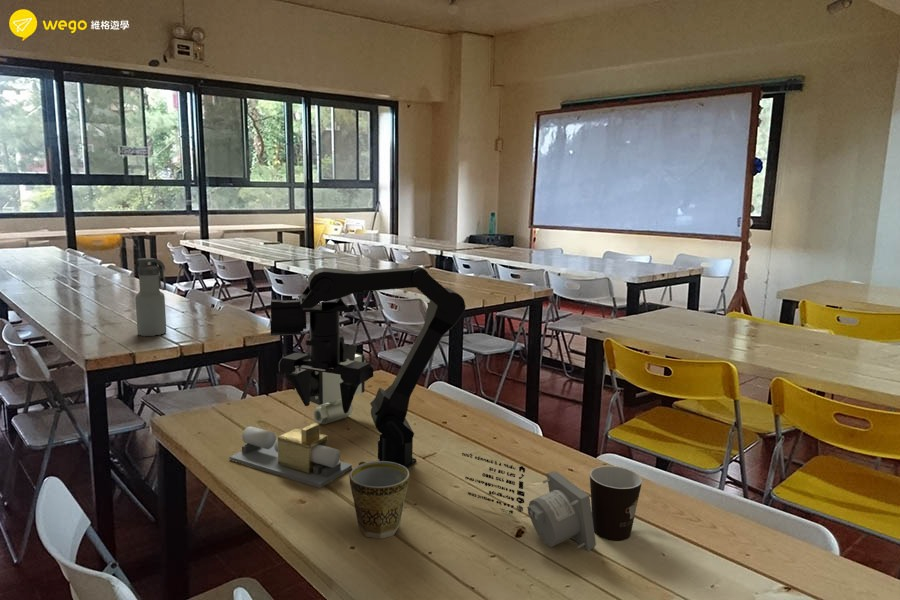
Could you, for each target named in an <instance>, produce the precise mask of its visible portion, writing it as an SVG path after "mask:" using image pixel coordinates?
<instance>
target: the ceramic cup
mask: <svg viewBox="0 0 900 600" xmlns="http://www.w3.org/2000/svg"><path fill="white" fill-rule="evenodd" d="M350 470H351V471H349V483H350V490H351V496H352V499H353V504H354V510H355V515H356V522H357V526H358V529H359V530H360V532H361V533H362V534H363V535H364V536H365V537H367V538H373V539H381V540H382V539H385V538H389V537H392V536H394V535H395V534H396V532H397V531H398V529H399V527H400V524H401V519H402V515H403V514H402V513H403V507H404V505H405V504H404V503H405V499H406V494H407V491H408V487H409V482H410V481H409V480H410V472H409V470H408V468H405V467H404V466H402V465H400V464H397V463H394V462H388V461H379V460H377V461H375V460H374V461H369V462H365V461H360V462H358V465H357V466H355V467H354V468H352V469H350Z"/></svg>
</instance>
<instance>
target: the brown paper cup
mask: <svg viewBox="0 0 900 600" xmlns="http://www.w3.org/2000/svg"><path fill="white" fill-rule="evenodd" d="M589 484H590V485H589V487H590V504H591V512H592V519H593V526H594V533H595V536H598V537H599V538H600V539H603V540H607V541H611V542H622V541H626V540H628V539H629V538H630V537H631V534H632V531H633V530H632V529H633V525H634V521H635V515H636V511H637V506H638V502H639V497H640V494H641V488H642V484H643V478H642V476H640V475H639V473H637V472H636V471H634V470H632V469H628V468H626V467H622V466H618V465H616V466H615V465H602V466H601V465H600V466H597V467H594V468H592V469H591V470H590V472H589Z"/></svg>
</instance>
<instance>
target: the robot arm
mask: <svg viewBox="0 0 900 600" xmlns="http://www.w3.org/2000/svg"><path fill="white" fill-rule="evenodd" d="M411 288H416V289H417V290H418V291H419V292H420V293H421V294H422V295H423V296H425V297H426V298H427V299H428V300H429V302H428V305H427V308H426V310H425V311H426V312H425V317H424V323H423V326H422V328H421V330H420V331H419V333H418V335H417V336H416V337H417V338H416V339H415V341H414V343H413V345H412V346H411V348H410V351H409V353H408V354H407V356H406V357H405V358H404V361H403V364H402V365H401V367H400V369H399V371H398V372H397V375H396V376H395V378H394V380H393V382H392V384H391V385H390V386H389V387H388V388H386V389H385V390H384V389H383V388H382V387H379V388H378V389H377V392H376V395H375V397H374V399H373V400H372V401H371V402H370V403H369V404H370V406H371V409H370V415H371V419H372V421H373V424H374V426H375V429H376V430H377V432H378V433H379V440H378V441H377V459H378V461H388V462H394V463H397V464H400V465H402V466H404V467H405V468H407V469H408V468H409V467H411V466H412V465H413V464H415V463H416V462H417V458H416V457H415V458H414V457H413V447H414V446H413V445H414V444H413V442H414V441H413V440H414V436H415V432H414V431H413V429H412V427H411V425H410V424H409V421H408V420H407V418H406V417H407V414H408V410H409V404H410V399H411V396H412V394H413V392H414V390H415V387H416V386H417V384H418V383H419V381H420V378H421V377H422V375H423V373H424V371H425V370H426V367H427V366H428V364H429V362H430V360H431V358H432V356H433V355H434V353H435V351H436V349H437V347H438V346H439V344H440V342H441V340H442V338H443V337H444V335H445V334H447V333H448V332H449V331H450V330H452V329H453V327H455V326H456V324H457V323H458V321H459V320H460V319H461V317H463V315H464V313H465V311H466V307H467V306H466V303H465V299H464V298H463V297H462V295H460V293H458V292H456V291H455V290H453V289H451V288H449V287H444V286H443V285H442V284H441V283H439V282H438V281H437V280H436V279H435V278H433V277H432V276H431V275H430V273H429V272H428V271H427V270H426V269H424V267H421V266H418V265H413V266H410V267H402V268H401V267H399V268H398V267H397V268H387V269H386V268H385V269H373V270H372V269H371V270H359V271H357V270H356V271H354V270H348V269H347V270H345V269H340V268H332V267H330V268H329V267H318V268H316V269H313V271H312V272H311V273H310V274H309V276H308V280H307V286H306V287H305V289H304V290H303V292H302V293H301V294H300V295H299V297H298V299H293V300H292V299H290V300H287V299H286V300H281V299H271V300H270V314H269V316H270V317H269V326H270V336H271V337H273V336H274V337H275V336H276V337H277V336H295V335H301V332H304V330H307V313H309V316H308V317H309V338H308V339H306V340H305V345H306V346H310V347H309V348H310V352H309V353H310V354H309V353H299V352H293V353H291V354H287V355H286V356H283V357H282V358H281V359H280V360H279V362H278V372H279V373H282V374H284V378H287V379H288V380H289V382H290V383H291V385H292V386H293V387H294V389H295V391H296V393H297V395H298V396H299V398H300V399H301V401H302V404H303V405H304V407H309V406H310V404H311V402H310V376H311V373H312V370H313V371H320V372H327V373H333V374H340V375H341V379H342V380H343V381H344V382H342V383H340V390H341V399H342V407H343V411H344V413H347V412H348V411H349V409H350V406H351V403H352V404H353V400H354V397H355V395H354V394H355V392H356V390H357V388H358V386H359V385H360V384H361V383H363V382H365V381H366V380H367V381H369V379H371V378H374V367H373V365H372V364H371V363H370V362H368V363H365V362H358V361H354V359H355V354H356V353H357V345H355V344H350V343H345V338H344V336H343V335H340V334H341V333H340V312H348V311H350V307H349V305H348V304H347V302H345V301H344V300H343V298H345V297H347V296H350V295H353V294H356V293H361V292H363V293H364V292H374V291H376V292H377V291H386V290H387V291H388V290H400V289H411ZM318 304H320V305H318ZM347 359H349V360H351V361H354V362H352V363H350V364H348V365H340V363H341V362H346V361H347ZM332 368H333V369H332ZM367 381H366V382H367ZM366 382H365V383H366ZM341 399H340V400H341Z"/></svg>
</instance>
